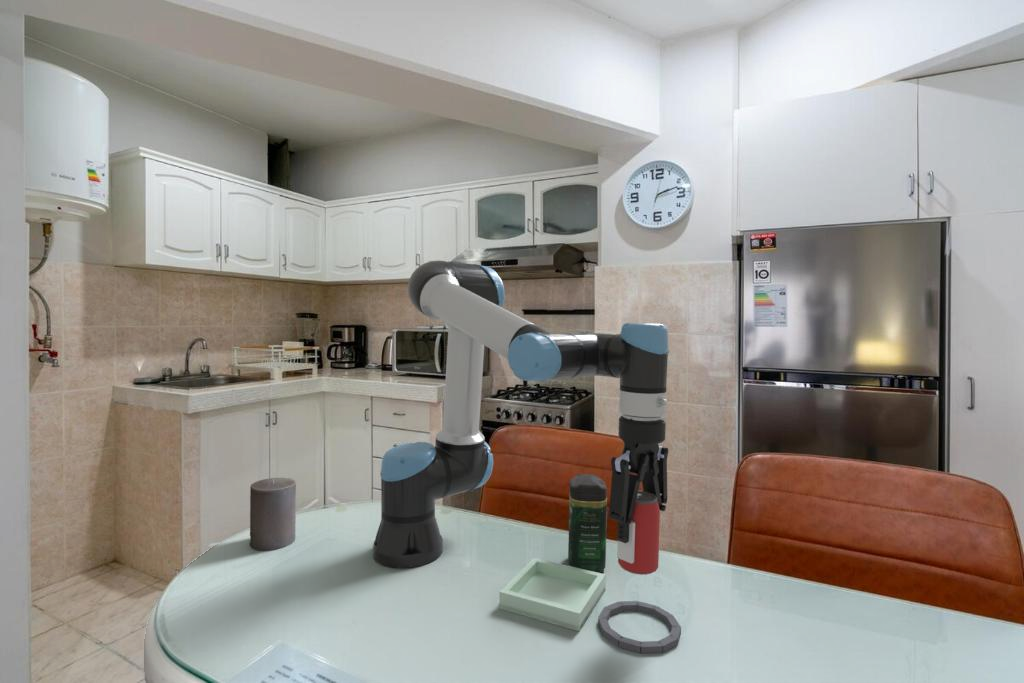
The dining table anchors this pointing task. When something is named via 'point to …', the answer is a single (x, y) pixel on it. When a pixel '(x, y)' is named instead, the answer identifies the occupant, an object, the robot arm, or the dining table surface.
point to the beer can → (645, 535)
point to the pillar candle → (272, 513)
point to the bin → (554, 593)
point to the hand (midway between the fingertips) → (638, 553)
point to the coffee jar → (587, 522)
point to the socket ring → (634, 644)
